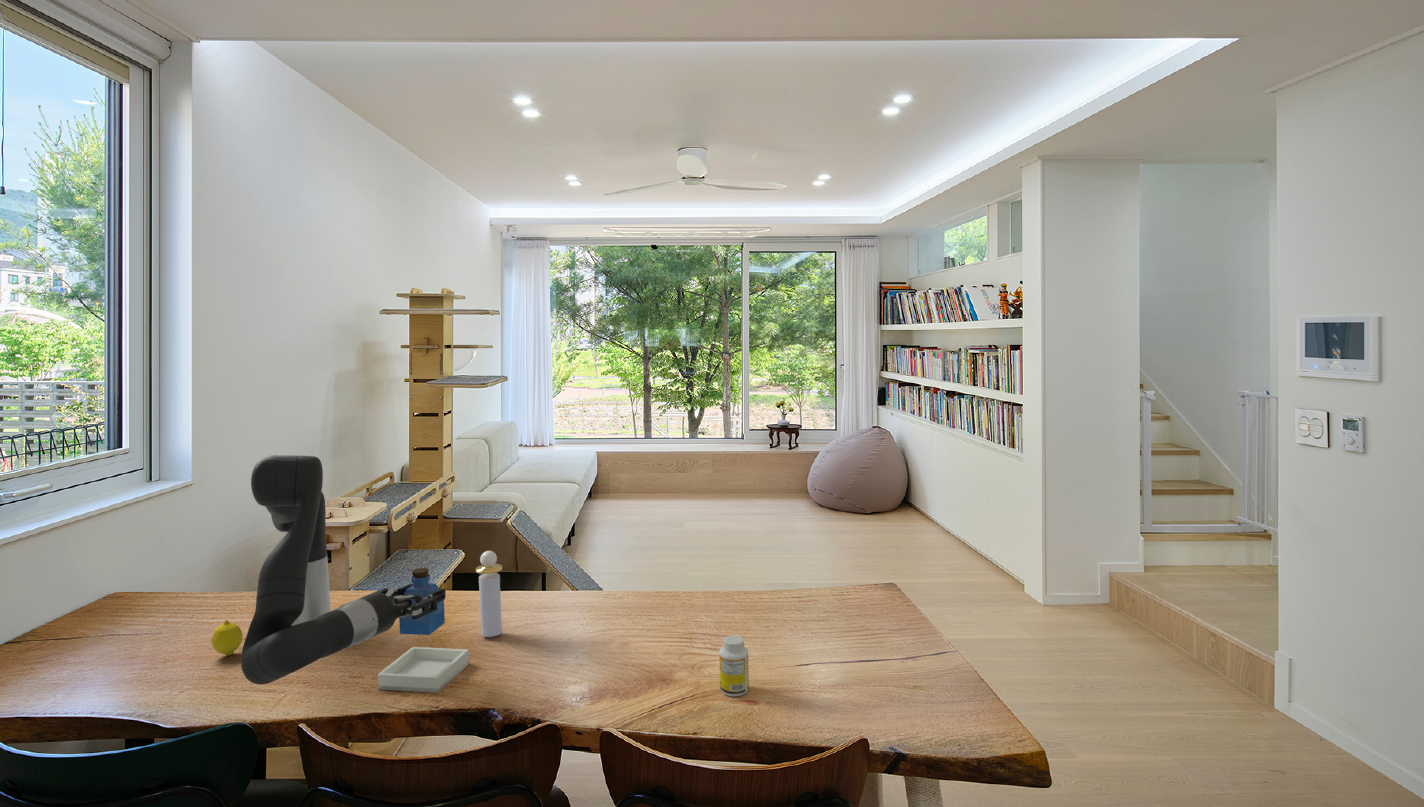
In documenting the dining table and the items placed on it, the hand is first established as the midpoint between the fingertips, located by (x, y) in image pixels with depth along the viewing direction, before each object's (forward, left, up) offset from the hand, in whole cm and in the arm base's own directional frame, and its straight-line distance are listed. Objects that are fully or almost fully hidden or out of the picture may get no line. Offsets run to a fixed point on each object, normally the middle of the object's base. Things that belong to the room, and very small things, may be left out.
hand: (428, 590), depth 145 cm
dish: (-1, -2, -17) cm, 17 cm away
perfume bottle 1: (-1, -2, -7) cm, 8 cm away
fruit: (-49, +2, -17) cm, 52 cm away
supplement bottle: (+62, -1, -17) cm, 65 cm away
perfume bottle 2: (+4, +18, -17) cm, 25 cm away
